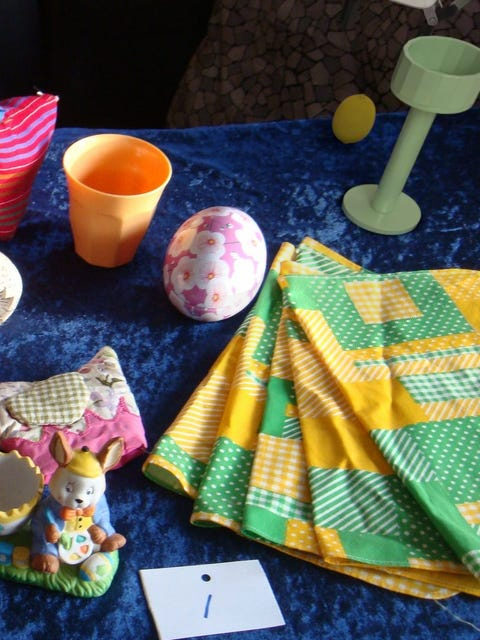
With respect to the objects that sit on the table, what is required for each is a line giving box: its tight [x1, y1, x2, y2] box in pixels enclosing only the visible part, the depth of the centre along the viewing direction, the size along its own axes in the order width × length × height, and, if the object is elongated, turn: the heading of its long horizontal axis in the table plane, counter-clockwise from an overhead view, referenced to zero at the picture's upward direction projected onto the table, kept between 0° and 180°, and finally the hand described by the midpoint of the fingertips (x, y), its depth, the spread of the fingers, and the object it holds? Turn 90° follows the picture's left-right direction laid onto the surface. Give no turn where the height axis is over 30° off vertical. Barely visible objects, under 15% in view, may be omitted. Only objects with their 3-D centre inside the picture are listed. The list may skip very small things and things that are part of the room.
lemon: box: [331, 93, 376, 145], centre depth 121 cm, size 6×6×8 cm
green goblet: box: [341, 35, 480, 236], centre depth 105 cm, size 10×10×23 cm
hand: (380, 37), depth 112 cm, fingers open, 9 cm apart
